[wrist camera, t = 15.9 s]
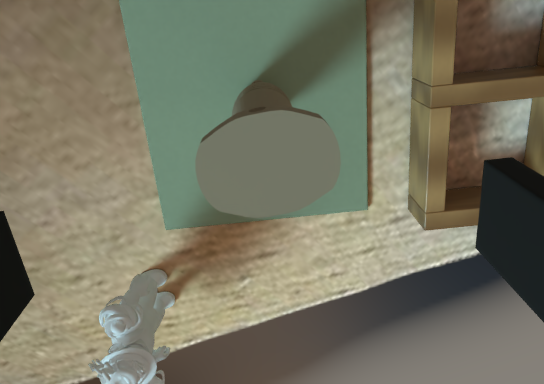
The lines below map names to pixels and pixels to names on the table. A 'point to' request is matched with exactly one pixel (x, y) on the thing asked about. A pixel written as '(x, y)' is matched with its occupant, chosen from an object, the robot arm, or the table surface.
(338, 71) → the mat
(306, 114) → the handle
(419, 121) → the rack
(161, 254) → the table surface
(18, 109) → the table surface
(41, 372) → the table surface
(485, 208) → the robot arm
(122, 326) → the flower shoulder figurine
